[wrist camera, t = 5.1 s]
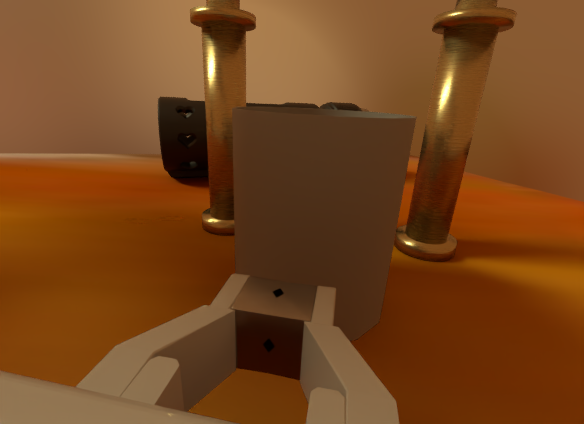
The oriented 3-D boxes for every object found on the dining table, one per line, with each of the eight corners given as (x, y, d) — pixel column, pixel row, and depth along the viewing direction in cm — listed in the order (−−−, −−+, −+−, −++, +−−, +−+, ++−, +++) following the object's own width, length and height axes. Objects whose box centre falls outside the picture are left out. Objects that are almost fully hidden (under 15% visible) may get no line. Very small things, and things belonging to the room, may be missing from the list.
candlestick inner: (193, 231, 25) (168, -119, 17) (215, 213, 29) (203, -77, 21) (245, 238, 24) (243, -124, 17) (260, 218, 28) (264, -80, 21)
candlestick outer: (398, 256, 22) (472, -138, 15) (390, 232, 26) (446, -87, 19) (462, 265, 22) (574, -145, 14) (444, 239, 26) (524, -90, 18)
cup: (309, 246, 23) (319, 108, 20) (410, 297, 18) (449, 118, 14) (208, 285, 18) (198, 105, 14) (308, 377, 12) (330, 119, 9)
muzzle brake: (168, 170, 44) (161, 94, 41) (343, 167, 53) (350, 103, 49) (164, 188, 36) (154, 94, 32) (373, 181, 44) (384, 105, 41)
